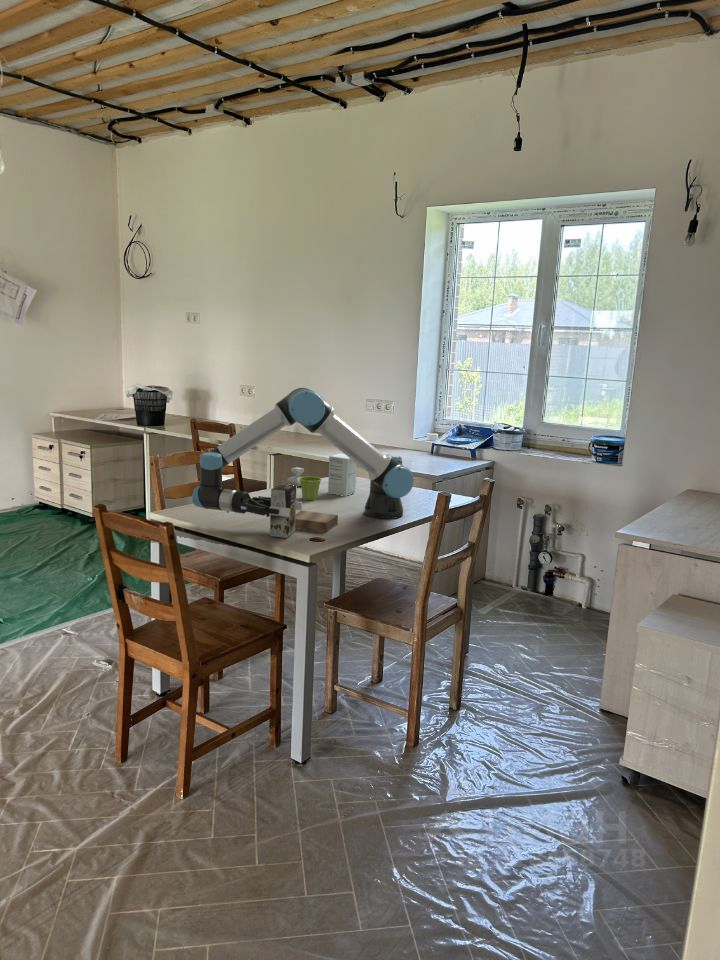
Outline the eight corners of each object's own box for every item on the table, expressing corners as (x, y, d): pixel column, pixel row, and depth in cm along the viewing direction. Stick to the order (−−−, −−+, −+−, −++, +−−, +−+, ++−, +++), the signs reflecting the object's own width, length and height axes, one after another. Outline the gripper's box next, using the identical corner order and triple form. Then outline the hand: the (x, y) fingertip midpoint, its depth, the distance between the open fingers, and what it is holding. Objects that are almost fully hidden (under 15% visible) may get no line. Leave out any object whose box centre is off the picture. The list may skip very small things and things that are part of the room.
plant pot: (310, 502, 274) (311, 481, 273) (293, 498, 280) (294, 478, 278) (325, 499, 282) (326, 479, 280) (308, 495, 287) (309, 475, 286)
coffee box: (287, 538, 222) (289, 490, 218) (269, 536, 223) (270, 488, 220) (295, 531, 230) (297, 485, 227) (277, 529, 232) (279, 483, 228)
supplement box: (337, 490, 300) (339, 453, 297) (355, 493, 297) (357, 455, 293) (327, 494, 292) (328, 455, 289) (346, 497, 288) (347, 458, 285)
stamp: (309, 486, 305) (310, 468, 303) (299, 488, 300) (300, 470, 298) (295, 483, 310) (295, 465, 309) (285, 485, 305) (285, 467, 303)
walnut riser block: (337, 525, 243) (337, 514, 242) (326, 534, 232) (326, 522, 231) (301, 521, 247) (301, 510, 246) (288, 529, 235) (289, 518, 235)
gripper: (250, 505, 241) (308, 513, 234) (218, 519, 221) (280, 528, 214) (251, 485, 240) (308, 492, 233) (219, 497, 219) (281, 505, 212)
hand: (295, 509), depth 223 cm, fingers closed on coffee box, 9 cm apart
